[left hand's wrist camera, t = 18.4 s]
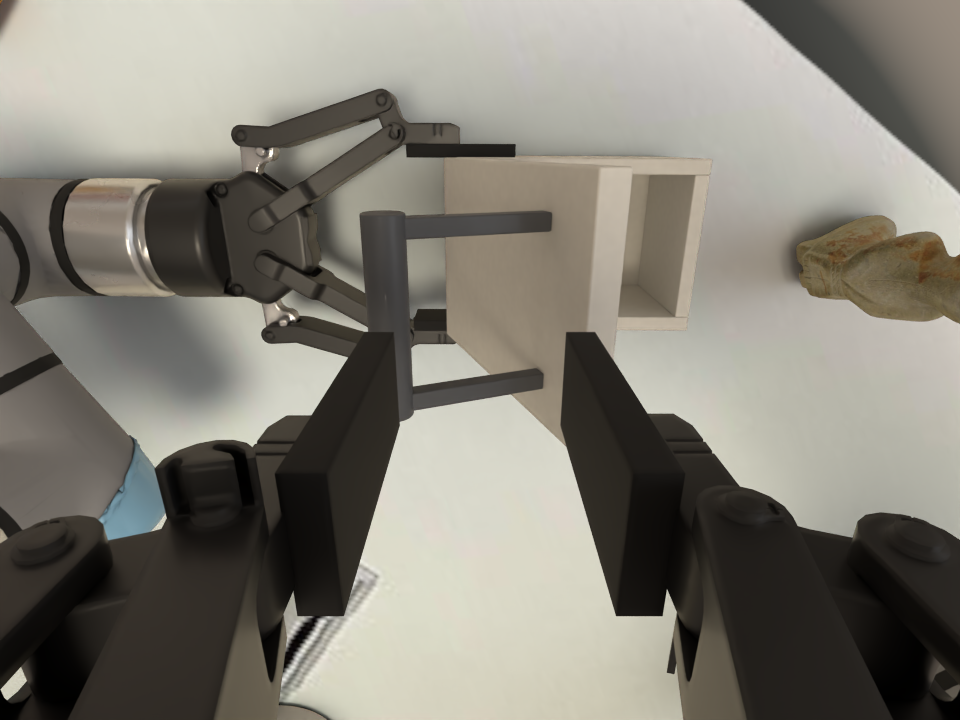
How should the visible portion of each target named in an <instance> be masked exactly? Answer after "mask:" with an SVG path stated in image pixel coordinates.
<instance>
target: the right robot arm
mask: <svg viewBox="0 0 960 720" xmlns="http://www.w3.org/2000/svg"><path fill="white" fill-rule="evenodd" d="M377 118H379V119H380V122H381V125H382V127H383V128H382V129H381V130H379V131H378V132H376V133H375V134H373V135H372V136H370V137H369V138H367V139H366V140H364V141H363V142H361V143H360V144H358V145H357V146H355V147H354V148H352V149H351V150H349V151H348V152H346V153H345V154H343V155H342V156H340V157H339V158H337V159H336V160H334V161H333V162H331V163H330V164H328V165H327V166H325V167H324V168H322V169H321V170H319V171H318V172H316V173H315V174H313V175H312V176H310V177H309V178H308V179H306V180H304V181H302V182H300V183H298V184H297V185H295V186H294V187H292V188H291V189H287V188H286V187H284V186H283V185H282V184H280V183H279V182H277V181H276V180H274V179H273V178H272V177H270V176H269V175H267V174H266V173H264V167H265V165H266V164H267V163H268V162H271V161H275V160H276V159H277V158H278V156H279V148H287V147H293V146H297V145H300V144H303V143H306V142H309V141H312V140H315V139H318V138H321V137H324V136H326V135H329V134H332V133H335V132H338V131H341V130H344V129H347V128H350V127H353V126H356V125H359V124H362V123H365V122H368V121H371V120H374V119H377ZM231 136H232V140H233V141H234V142H235V144H237V145H238V146H240V151H241V161H242V171H243V172H242V173H240V174H238V175H237V176H235V177H233V178H230V179H166V180H164V181H163V182H162V181H160V180H158V179H131V178H91V179H78V180H67V179H33V178H0V543H1V542H3V541H5V540H6V539H8V538H9V537H11V536H12V535H14V534H15V533H17V532H20V531H22V530H24V529H26V528H29V527H31V526H32V525H34V524H36V523H39V522H42V521H45V520H47V521H48V520H50V519H52V518H57V517H66V516H76V515H83V516H89V517H95V518H96V519H98V520H99V521H100V522H101V523H103V525H104V529H105V532H106V535H107V538H108V540H112V539H117V538H122V537H127V536H132V535H137V534H142V533H147V532H150V531H151V530H152V529H153V528H154V527H155V526H156V525H157V524H158V523H159V522H160V520H161V519H162V517H163V516H164V514H165V509H164V505H163V501H162V497H161V493H160V489H159V485H158V481H157V477H156V473H155V467H154V466H153V465H152V463H151V462H150V461H149V459H148V458H147V456H146V455H145V454H144V452H143V451H142V450H141V448H140V445H139V444H138V443H137V440H136V439H134V438H133V437H131V435H128V434H127V433H126V432H125V431H124V430H123V429H122V428H121V427H120V426H119V425H118V424H117V422H116V421H115V420H114V419H113V418H112V417H111V416H110V415H109V414H108V413H107V412H106V411H105V409H104V408H103V407H102V406H101V405H100V404H99V403H98V402H97V401H96V400H95V399H94V398H93V397H92V395H91V394H90V393H89V392H88V391H87V390H86V389H85V388H84V387H83V386H82V385H81V384H80V382H79V381H78V380H77V379H76V378H75V377H74V376H73V375H72V374H71V373H70V372H69V371H68V369H67V368H66V367H65V366H64V365H63V363H62V361H61V360H60V359H59V358H58V357H57V356H56V355H55V353H54V352H53V351H52V349H51V348H50V347H49V346H48V345H47V344H46V343H45V341H44V340H43V339H42V338H41V337H40V336H39V335H38V333H37V332H36V331H35V330H34V329H33V328H32V327H31V325H30V324H29V323H28V322H27V321H26V320H25V319H24V317H23V316H22V315H21V314H20V313H19V312H18V311H17V309H16V308H15V307H14V306H16V305H19V304H22V303H25V302H28V301H31V300H34V299H38V298H44V297H53V296H148V297H169V296H173V295H176V294H177V295H180V296H185V297H247V298H251V299H253V300H255V301H257V302H259V303H262V306H263V311H264V316H265V321H266V327H265V328H264V329H263V330H262V332H261V336H262V338H263V340H264V341H265V342H267V343H270V344H277V343H299V344H303V345H307V346H310V347H314V348H317V349H321V350H324V351H328V352H331V353H335V354H338V355H342V356H346V357H349V356H350V354H351V353H352V351H353V350H354V348H355V346H356V345H357V343H358V342H359V340H360V339H361V337H362V335H363V334H364V332H363V331H359V330H356V329H352V328H349V327H346V326H342V325H339V324H335V323H332V322H328V321H325V320H321V319H318V318H314V317H309V316H299V314H298V312H297V311H296V310H295V309H293V308H288V307H286V306H284V305H283V303H282V302H281V298H282V297H284V296H285V295H286V294H287V293H289V292H290V291H291V290H295V291H297V292H299V293H300V294H302V295H304V296H306V297H308V298H310V299H313V300H319V301H321V302H323V303H325V304H326V305H328V306H330V307H332V308H334V309H336V310H337V311H339V312H341V313H343V314H345V315H347V316H348V317H350V318H352V319H354V320H356V321H358V322H359V323H361V324H363V325H365V326H367V327H368V321H367V308H366V294H365V293H363V292H362V291H360V290H358V289H356V288H355V287H353V286H351V285H349V284H347V283H346V282H344V281H342V280H340V279H338V278H337V277H335V276H334V274H333V273H332V272H330V271H329V270H327V269H325V268H323V267H322V266H320V265H319V261H321V250H320V247H319V244H318V241H317V238H316V234H317V228H318V221H317V213H314V212H313V210H312V208H311V207H310V206H312V205H313V204H315V203H316V202H318V201H319V200H321V199H322V198H324V197H325V196H326V195H328V194H329V193H330V192H332V191H334V190H335V189H337V188H338V187H340V186H341V185H343V184H344V183H346V182H347V181H349V180H350V179H352V178H353V177H355V176H356V175H358V174H359V173H361V172H362V171H364V170H366V169H367V168H369V167H370V166H372V165H373V164H375V163H376V162H378V161H379V160H381V159H382V158H384V157H385V156H387V155H388V154H390V153H391V152H393V151H394V150H396V149H398V148H399V147H401V146H402V145H406V154H407V157H453V158H456V157H515V147H516V144H460V128H459V127H458V126H456V125H453V124H451V123H408V122H407V121H406V120H405V119H404V118H403V116H402V114H401V111H400V109H399V106H398V103H397V99H396V97H395V96H394V95H393V94H391V93H390V92H388V91H387V90H384V89H377V90H374V91H371V92H368V93H365V94H362V95H359V96H356V97H354V98H351V99H348V100H345V101H342V102H339V103H336V104H333V105H330V106H327V107H324V108H322V109H319V110H316V111H313V112H310V113H307V114H304V115H301V116H298V117H295V118H292V119H290V120H287V121H284V122H281V123H278V124H275V125H272V126H269V127H267V126H251V125H236V126H235V127H234V128H233V129H232V132H231ZM410 336H411V348H412V347H413V346H414V345H417V344H455V343H456V342H455V341H454V340H453V339H452V338H451V337H450V336H449V335H448V334H447V309H418V310H417V313H416V315H415V317H414V318H413V320H412V319H410Z"/></svg>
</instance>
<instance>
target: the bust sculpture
mask: <svg viewBox="0 0 960 720" xmlns="http://www.w3.org/2000/svg"><path fill="white" fill-rule="evenodd" d="M277 720H327V719H326V718H324V717H323V716H321V715H319V714H317V713H315V712H313V711H310V710H307V709H304V708H300V707H294V706H283V705H280V706H278V714H277Z"/></svg>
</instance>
